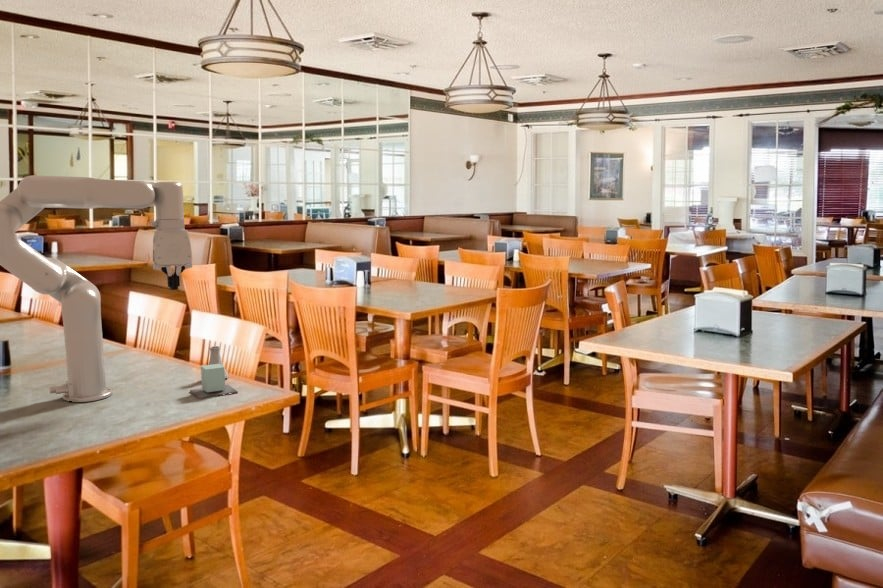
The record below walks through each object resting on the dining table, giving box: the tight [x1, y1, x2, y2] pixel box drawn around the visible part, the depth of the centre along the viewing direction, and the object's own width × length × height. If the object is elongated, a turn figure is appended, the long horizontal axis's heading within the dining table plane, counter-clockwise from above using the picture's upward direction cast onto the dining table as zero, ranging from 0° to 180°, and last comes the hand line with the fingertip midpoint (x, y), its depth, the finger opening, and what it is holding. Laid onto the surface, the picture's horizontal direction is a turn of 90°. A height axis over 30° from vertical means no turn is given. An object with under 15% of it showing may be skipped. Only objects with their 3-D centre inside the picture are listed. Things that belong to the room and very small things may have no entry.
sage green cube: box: [200, 364, 226, 392], centre depth 217 cm, size 5×5×7 cm
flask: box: [208, 345, 229, 379], centre depth 232 cm, size 7×7×10 cm
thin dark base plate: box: [189, 384, 239, 400], centre depth 217 cm, size 11×9×7 cm
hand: (174, 289), depth 219 cm, fingers closed
